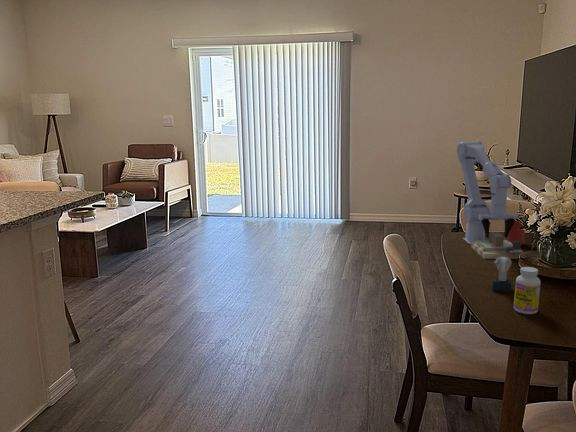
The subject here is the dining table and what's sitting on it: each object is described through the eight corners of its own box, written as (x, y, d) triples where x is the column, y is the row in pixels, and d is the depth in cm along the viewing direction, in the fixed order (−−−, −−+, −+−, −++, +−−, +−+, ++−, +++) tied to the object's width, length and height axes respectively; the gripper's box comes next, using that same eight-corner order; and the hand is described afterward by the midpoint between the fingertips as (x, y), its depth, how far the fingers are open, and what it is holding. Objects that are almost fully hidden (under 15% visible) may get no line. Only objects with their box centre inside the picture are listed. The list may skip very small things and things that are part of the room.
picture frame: (470, 246, 230) (471, 237, 229) (509, 246, 229) (509, 237, 228) (483, 258, 212) (484, 248, 211) (525, 258, 211) (526, 248, 210)
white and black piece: (510, 286, 181) (513, 254, 178) (510, 294, 173) (513, 261, 171) (492, 284, 183) (494, 253, 180) (492, 292, 175) (494, 260, 173)
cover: (476, 242, 228) (477, 230, 227) (505, 242, 227) (506, 230, 226) (485, 250, 216) (486, 238, 215) (516, 250, 216) (516, 238, 215)
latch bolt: (509, 248, 213) (509, 238, 212) (515, 248, 213) (516, 238, 212) (513, 252, 208) (514, 241, 207) (520, 252, 208) (520, 241, 207)
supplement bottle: (509, 310, 160) (512, 269, 158) (519, 304, 165) (522, 264, 162) (532, 316, 156) (536, 274, 153) (541, 310, 160) (545, 269, 158)
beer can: (520, 241, 235) (523, 214, 233) (525, 245, 229) (528, 218, 226) (505, 241, 236) (507, 214, 233) (509, 245, 230) (511, 218, 227)
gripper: (483, 206, 215) (481, 239, 217) (520, 206, 214) (518, 239, 217) (478, 203, 221) (476, 235, 224) (514, 202, 221) (511, 235, 224)
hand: (496, 237), depth 221 cm, fingers open, 7 cm apart
